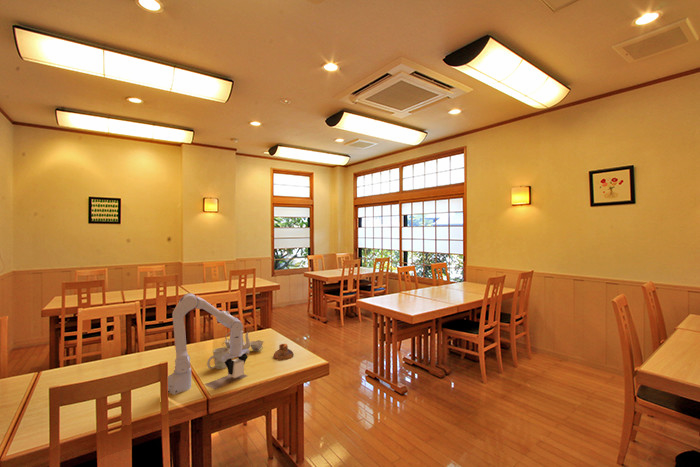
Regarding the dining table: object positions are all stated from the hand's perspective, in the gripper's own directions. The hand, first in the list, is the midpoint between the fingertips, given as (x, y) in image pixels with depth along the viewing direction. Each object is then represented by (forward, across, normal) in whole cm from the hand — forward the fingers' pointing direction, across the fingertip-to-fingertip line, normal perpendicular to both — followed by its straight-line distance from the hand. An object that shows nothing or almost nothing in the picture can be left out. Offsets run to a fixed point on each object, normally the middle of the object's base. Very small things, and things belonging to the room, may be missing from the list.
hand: (235, 371), depth 159 cm
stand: (+4, -4, +2) cm, 6 cm away
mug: (+4, +2, +18) cm, 19 cm away
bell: (+4, +36, +5) cm, 36 cm away
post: (+4, 0, 0) cm, 4 cm away
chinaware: (+4, +26, +33) cm, 42 cm away
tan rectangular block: (+1, 0, 0) cm, 1 cm away
